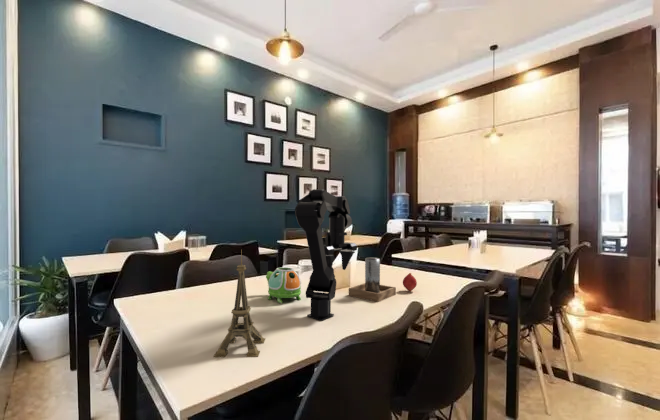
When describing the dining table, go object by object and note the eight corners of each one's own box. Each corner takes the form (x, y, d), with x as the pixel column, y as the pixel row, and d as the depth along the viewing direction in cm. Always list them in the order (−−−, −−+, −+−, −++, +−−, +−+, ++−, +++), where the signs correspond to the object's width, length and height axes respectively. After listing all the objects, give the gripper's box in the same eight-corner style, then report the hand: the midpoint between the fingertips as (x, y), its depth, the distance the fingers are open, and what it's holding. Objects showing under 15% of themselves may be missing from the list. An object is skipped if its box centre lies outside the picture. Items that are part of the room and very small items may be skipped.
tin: (378, 295, 130) (379, 259, 130) (363, 294, 131) (364, 259, 131) (380, 291, 135) (380, 257, 135) (366, 290, 137) (366, 257, 137)
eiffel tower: (265, 339, 88) (265, 247, 88) (257, 357, 77) (258, 252, 77) (226, 339, 87) (226, 247, 87) (213, 357, 77) (213, 252, 77)
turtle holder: (280, 290, 140) (281, 263, 140) (307, 299, 127) (307, 269, 127) (255, 296, 131) (255, 266, 131) (281, 305, 118) (281, 273, 118)
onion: (401, 291, 139) (401, 273, 139) (404, 289, 144) (404, 271, 144) (414, 293, 136) (415, 274, 136) (417, 290, 141) (418, 272, 141)
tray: (378, 301, 124) (378, 294, 124) (348, 295, 132) (348, 288, 132) (395, 294, 134) (395, 287, 134) (367, 289, 143) (367, 282, 143)
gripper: (335, 227, 133) (335, 265, 133) (304, 229, 119) (303, 272, 119) (357, 229, 126) (357, 268, 126) (327, 231, 112) (327, 276, 112)
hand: (336, 271), depth 121 cm, fingers open, 9 cm apart
